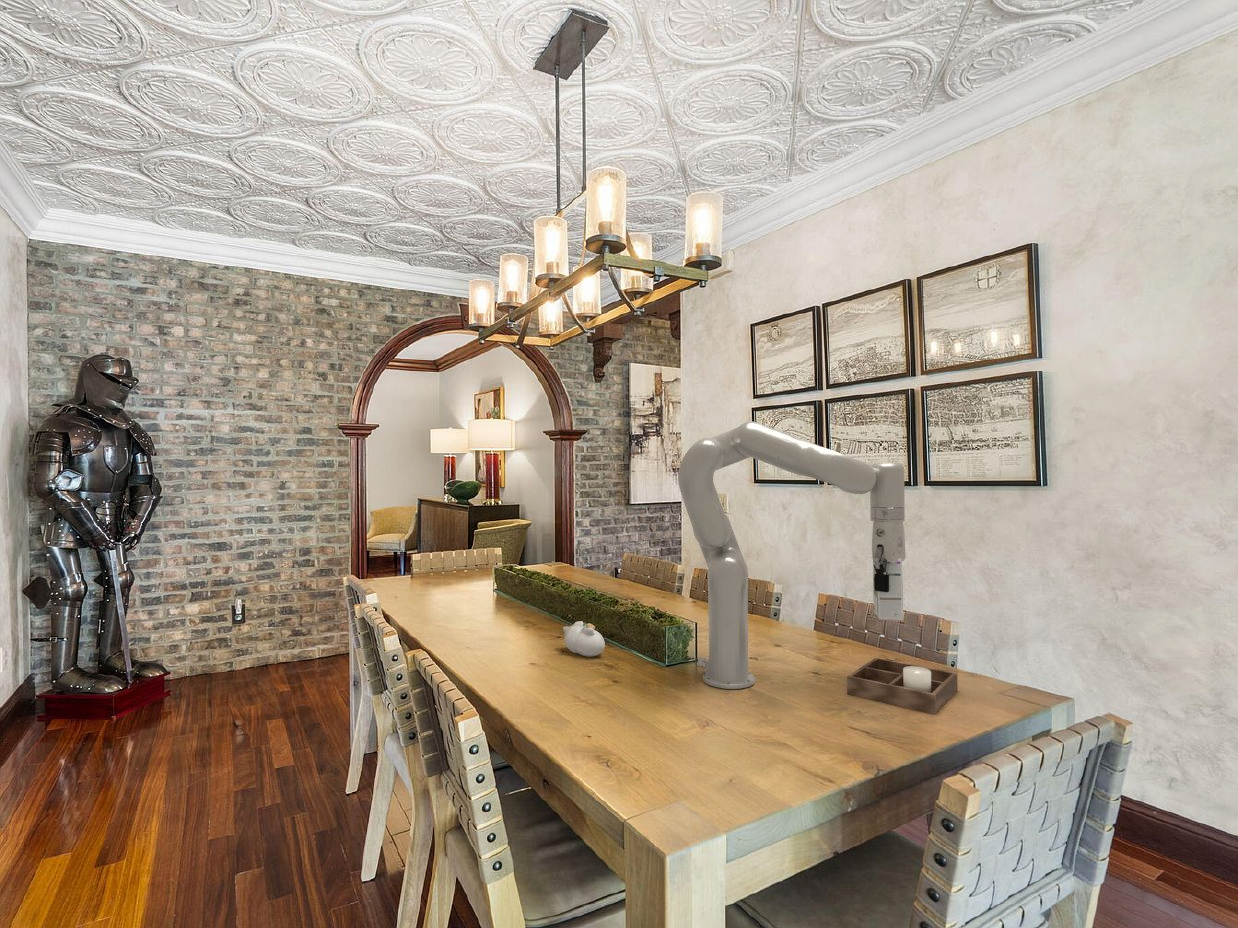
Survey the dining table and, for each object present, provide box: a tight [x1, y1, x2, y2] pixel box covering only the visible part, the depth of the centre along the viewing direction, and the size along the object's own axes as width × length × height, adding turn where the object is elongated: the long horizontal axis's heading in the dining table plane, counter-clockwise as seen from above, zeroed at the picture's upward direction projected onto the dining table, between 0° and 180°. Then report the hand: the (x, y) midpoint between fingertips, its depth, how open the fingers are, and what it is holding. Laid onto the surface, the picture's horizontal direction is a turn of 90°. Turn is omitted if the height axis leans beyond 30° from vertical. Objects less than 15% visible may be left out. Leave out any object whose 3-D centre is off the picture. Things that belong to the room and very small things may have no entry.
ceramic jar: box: [903, 666, 931, 693], centre depth 139 cm, size 6×6×7 cm
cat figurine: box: [562, 620, 606, 658], centre depth 180 cm, size 10×8×15 cm
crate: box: [846, 657, 959, 716], centre depth 145 cm, size 18×18×5 cm
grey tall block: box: [872, 558, 904, 622], centre depth 151 cm, size 6×6×14 cm
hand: (887, 588), depth 151 cm, fingers closed on grey tall block, 7 cm apart
